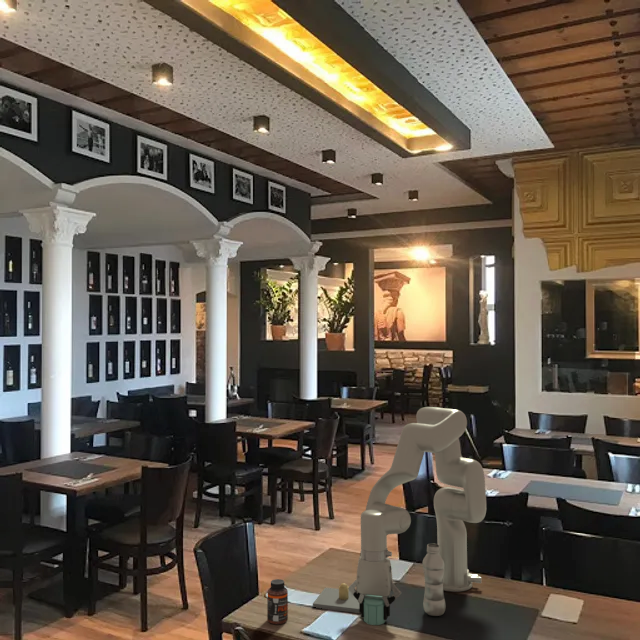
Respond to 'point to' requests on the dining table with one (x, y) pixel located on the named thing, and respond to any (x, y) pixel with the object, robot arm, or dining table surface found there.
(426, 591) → the plastic bottle
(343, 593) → the grey square board
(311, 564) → the dining table surface
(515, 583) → the dining table surface
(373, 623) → the cap
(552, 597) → the dining table surface
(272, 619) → the supplement bottle
